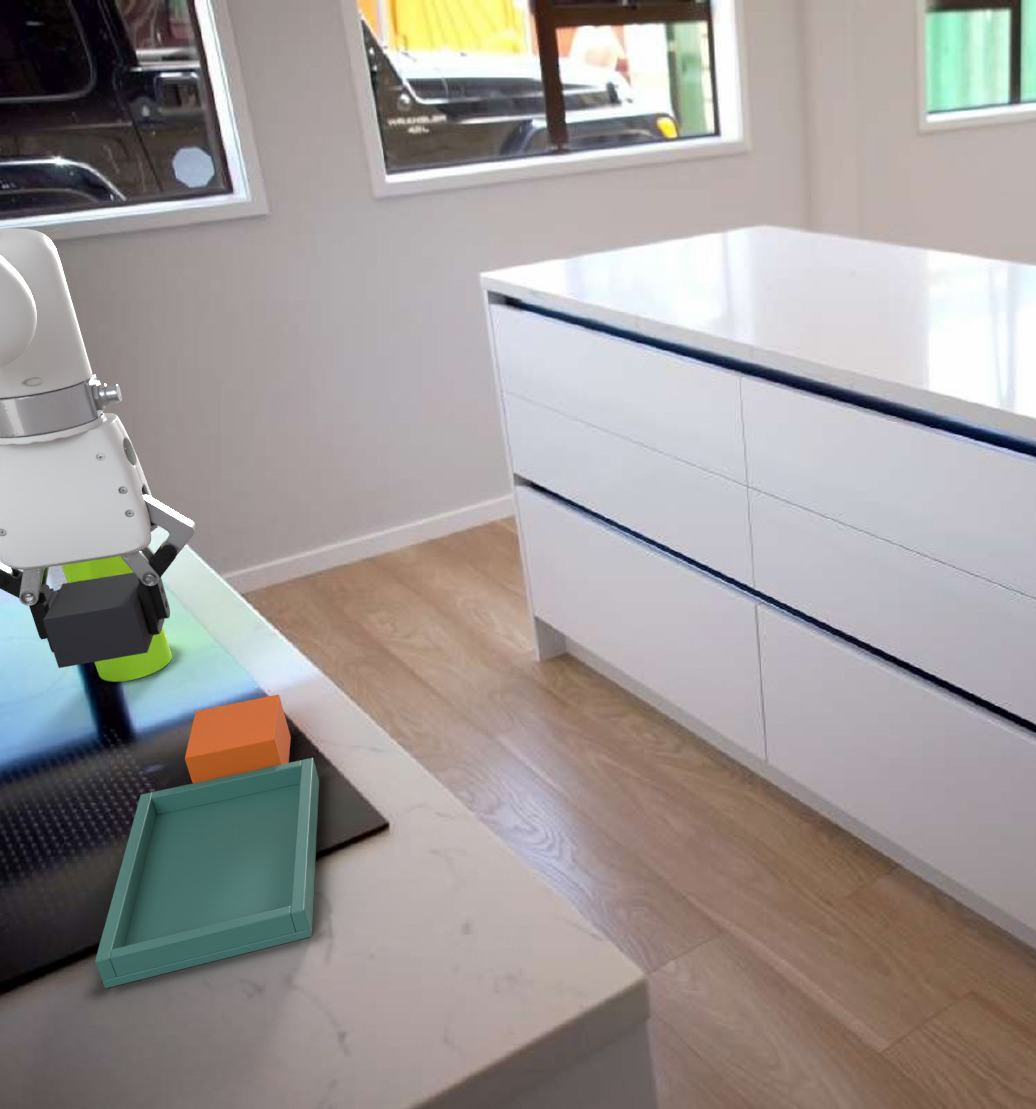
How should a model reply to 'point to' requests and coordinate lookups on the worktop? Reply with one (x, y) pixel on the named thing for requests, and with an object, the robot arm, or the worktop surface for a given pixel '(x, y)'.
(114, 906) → the tray
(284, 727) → the orange block
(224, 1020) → the worktop surface
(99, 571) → the soap dispenser
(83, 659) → the dark grey block
